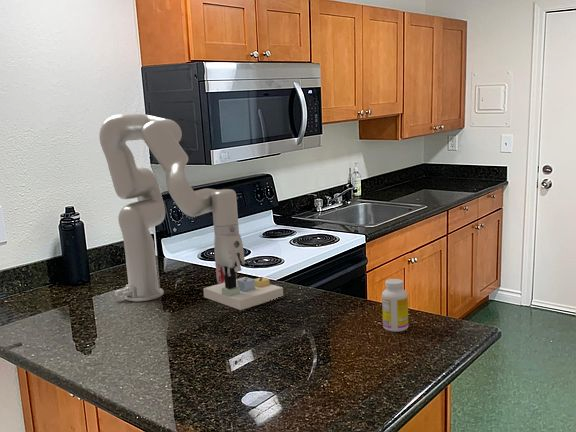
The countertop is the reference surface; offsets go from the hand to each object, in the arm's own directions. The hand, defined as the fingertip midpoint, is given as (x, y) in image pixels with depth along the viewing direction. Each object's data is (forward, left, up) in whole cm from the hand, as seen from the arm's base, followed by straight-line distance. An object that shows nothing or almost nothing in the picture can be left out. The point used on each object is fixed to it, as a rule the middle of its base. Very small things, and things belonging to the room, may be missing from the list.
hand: (231, 287), depth 183 cm
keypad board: (+6, +2, -5) cm, 8 cm away
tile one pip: (0, 0, -4) cm, 4 cm away
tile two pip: (+6, 0, -3) cm, 7 cm away
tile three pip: (+12, 0, -4) cm, 13 cm away
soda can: (+11, +18, -5) cm, 22 cm away
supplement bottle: (+16, -52, -5) cm, 54 cm away
